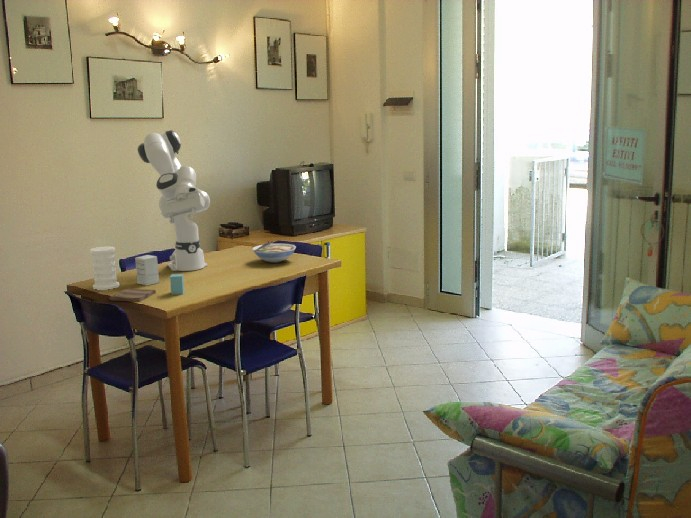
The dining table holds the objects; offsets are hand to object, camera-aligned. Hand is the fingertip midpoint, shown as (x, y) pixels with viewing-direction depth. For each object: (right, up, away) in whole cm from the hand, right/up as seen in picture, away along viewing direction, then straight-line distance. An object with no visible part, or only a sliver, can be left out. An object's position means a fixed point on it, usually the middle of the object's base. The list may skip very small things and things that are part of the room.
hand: (181, 220), depth 309 cm
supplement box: (-19, -29, +16) cm, 38 cm away
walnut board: (-19, -34, -7) cm, 39 cm away
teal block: (-1, -32, -3) cm, 32 cm away
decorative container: (-37, -30, +11) cm, 49 cm away
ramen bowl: (+36, -19, +57) cm, 70 cm away
